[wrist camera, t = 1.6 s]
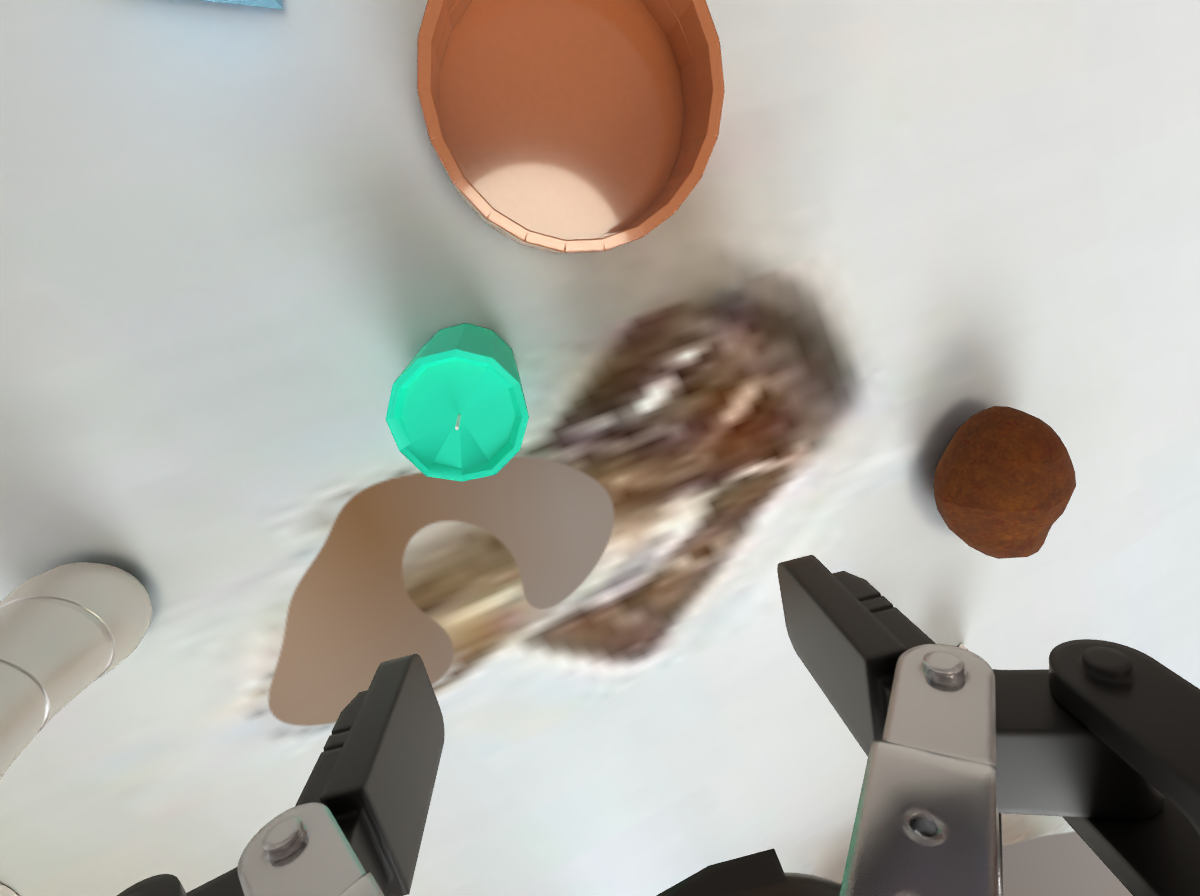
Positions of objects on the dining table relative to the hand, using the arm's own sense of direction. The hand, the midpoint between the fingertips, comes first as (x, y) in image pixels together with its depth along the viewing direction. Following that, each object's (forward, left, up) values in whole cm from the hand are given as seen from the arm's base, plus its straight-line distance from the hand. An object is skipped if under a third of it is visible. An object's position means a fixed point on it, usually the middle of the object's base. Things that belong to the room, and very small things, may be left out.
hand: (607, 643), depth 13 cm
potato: (+18, -26, -25) cm, 41 cm away
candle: (-2, +4, -25) cm, 25 cm away
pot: (+12, +10, -25) cm, 29 cm away
